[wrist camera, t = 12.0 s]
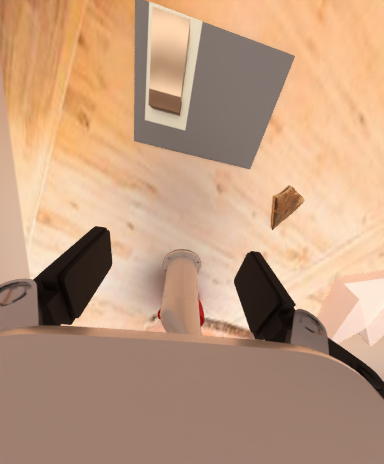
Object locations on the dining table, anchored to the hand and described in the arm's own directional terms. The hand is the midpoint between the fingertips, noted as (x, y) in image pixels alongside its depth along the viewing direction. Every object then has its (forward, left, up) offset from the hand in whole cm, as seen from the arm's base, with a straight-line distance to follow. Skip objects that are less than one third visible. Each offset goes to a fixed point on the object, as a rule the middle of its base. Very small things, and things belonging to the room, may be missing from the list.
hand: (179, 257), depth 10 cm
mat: (+13, -1, -29) cm, 32 cm away
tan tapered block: (+15, +6, -28) cm, 33 cm away
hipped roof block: (-41, -82, -30) cm, 97 cm away
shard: (-3, -28, -30) cm, 41 cm away
